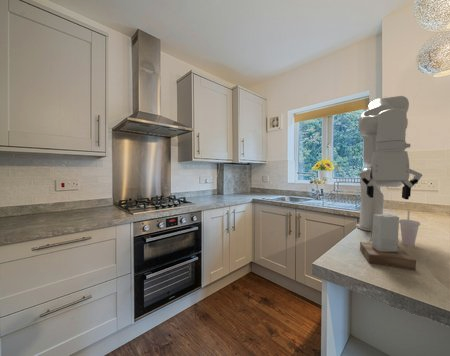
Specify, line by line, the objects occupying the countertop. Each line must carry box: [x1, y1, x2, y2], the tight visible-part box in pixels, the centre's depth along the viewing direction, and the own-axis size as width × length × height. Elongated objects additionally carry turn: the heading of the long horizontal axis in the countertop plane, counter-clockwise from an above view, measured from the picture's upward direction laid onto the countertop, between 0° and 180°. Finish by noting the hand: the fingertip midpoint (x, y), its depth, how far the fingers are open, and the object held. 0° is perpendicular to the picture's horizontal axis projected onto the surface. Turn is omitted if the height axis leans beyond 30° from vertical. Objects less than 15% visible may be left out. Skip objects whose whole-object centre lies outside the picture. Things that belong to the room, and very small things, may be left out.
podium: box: [359, 241, 417, 271], centre depth 70 cm, size 12×12×3 cm
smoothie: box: [399, 210, 421, 247], centre depth 83 cm, size 6×6×14 cm
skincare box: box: [371, 214, 400, 252], centre depth 70 cm, size 6×4×12 cm
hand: (387, 198), depth 69 cm, fingers open, 9 cm apart
